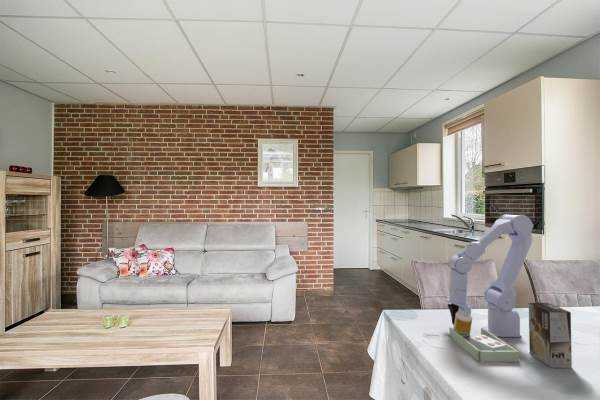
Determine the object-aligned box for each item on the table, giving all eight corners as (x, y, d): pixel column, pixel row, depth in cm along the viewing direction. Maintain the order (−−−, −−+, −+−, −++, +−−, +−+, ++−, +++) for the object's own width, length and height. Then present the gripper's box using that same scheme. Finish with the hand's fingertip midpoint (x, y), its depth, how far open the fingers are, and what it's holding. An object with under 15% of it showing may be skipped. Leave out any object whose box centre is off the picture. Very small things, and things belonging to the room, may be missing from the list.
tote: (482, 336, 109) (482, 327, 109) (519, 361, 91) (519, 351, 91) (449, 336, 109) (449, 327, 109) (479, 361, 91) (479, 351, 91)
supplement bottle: (472, 337, 108) (476, 314, 106) (456, 336, 109) (460, 313, 106) (465, 327, 114) (469, 304, 111) (450, 326, 114) (454, 304, 111)
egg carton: (482, 346, 102) (482, 332, 102) (506, 357, 94) (506, 342, 94) (469, 349, 99) (469, 335, 100) (493, 361, 92) (492, 345, 92)
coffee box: (573, 368, 88) (572, 312, 88) (550, 368, 88) (550, 311, 88) (548, 353, 97) (547, 302, 97) (527, 352, 97) (527, 302, 97)
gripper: (438, 282, 121) (436, 316, 121) (457, 293, 106) (455, 332, 106) (456, 283, 121) (454, 318, 121) (477, 294, 106) (475, 333, 106)
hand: (456, 325), depth 113 cm, fingers closed, pressing on supplement bottle
